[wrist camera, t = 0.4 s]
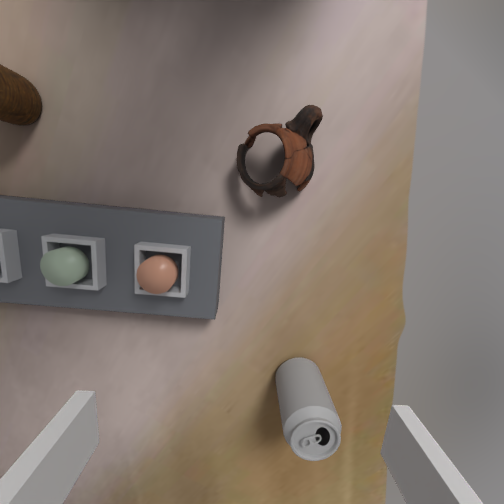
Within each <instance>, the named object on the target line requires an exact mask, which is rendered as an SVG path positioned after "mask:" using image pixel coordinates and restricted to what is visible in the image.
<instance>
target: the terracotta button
mask: <svg viewBox="0 0 504 504" xmlns="http://www.w3.org/2000/svg"><path fill="white" fill-rule="evenodd" d="M178 274H179V270H178V267H177V264H176V263H175V262H174V260H173V259H171V258H170V257H168V256H166V255H154V256H152V257H150V258H148V259H147V260H145V261H144V262H142V263H141V264H140V266H139V267H138V269H137V274H136V276H137V281H138V283H139V285H140V286H141V287H142V288H143V289H144V290H145V291H147V292H149V293H152V294H161V293H164V292H166V291H168V290H169V289H170V288H171V287H172V285H173V284H174V283H175V282H176V280H177V278H178Z"/></svg>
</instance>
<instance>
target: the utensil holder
mask: <svg viewBox="0 0 504 504" xmlns="http://www.w3.org/2000/svg"><path fill="white" fill-rule="evenodd" d="M41 109H42V103H41V98H40V95H39V93H38V91H37V89H36V88H35V87H34V86H33V84H32V83H31V82H29V81H28V80H27V79H26V78H24V77H23V76H21V75H19V74H17V73H16V72H14V71H12V70H10V69H8V68H6V67H4V66H2V65H0V120H1V121H5V122H8V123H12V124H16V125H28V124H31V123H33V122H34V121H36V120H37V118H38V117H39V115H40V113H41Z"/></svg>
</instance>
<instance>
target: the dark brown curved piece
mask: <svg viewBox="0 0 504 504" xmlns="http://www.w3.org/2000/svg"><path fill="white" fill-rule="evenodd" d="M322 117H323V115H322V112H321V109H320V108H319V107H317V106H314V105H307V106H305V107H304V108H303V109H302V110H301V111H300V112H299V113H298V114H297V116H296V117H295V118H294V119H293V120H291V121H288V122H287V123H286V128H282V124H261V125H258V126H255V127H254V128H252V129H251V130H250V131H249V132H248V134H249V137H248V138H247V140H246V141H245V144H241V145H239V147H238V151H237V168H238V171H239V173H240V176H241V179H242V180H243V181H244V182H245V184H246V185H248V186H249V187H250V188H251V189H252V190H253V191H254V192H255V193H256V194H257V195H259V196H260V197H262V196H263V195H262V194H263V192H264V191H266V192H267V193H268V194H270V195H273V196H277V197H282V196H284V195H286V194H287V192H286V190H285V188H286V187H285V184H286V179H288V180H289V181H291V182H292V183H293V184H294V185H295V186H298V185H300V186H299V187H298V188H297V191H301V190H302V189H304V188H305V187H306V185H307V184H308V183H309V181H310V180H311V178H312V175H313V172H314V154H313V146H312V144H311V138H312V135H313V133H314V132H315V130H316V129H317V127H318V126H319V124H320V122H321V120H322ZM264 132H271V133H273V134H276V135H277V136H278V137H279V138H280V139H281V141H282V143H283V146H284V150H285V160H284V165H283V167H282V169H281V171H280V174H279V175H278V176H277V177H276V178H275V179H274V180H272V181H271V182H268V183H265V184H259V183H256V182H254V181H253V180H252V179H251V178H250V177H249V175H248V173H247V171H246V167H245V154H246V150H247V148H250V147H252V145H253V143H254V141H255V139H256V136H257V135H259V134H261V133H264ZM306 146H307V147H306ZM303 181H304V182H303Z"/></svg>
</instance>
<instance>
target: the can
mask: <svg viewBox="0 0 504 504" xmlns="http://www.w3.org/2000/svg"><path fill="white" fill-rule="evenodd" d="M276 387H277V394H278V401H279V407H280V414H281V420H282V427H283V434H284V437H285V439H286V442H287V443H288V444H289V445H290V446H291V448H292V450H293V452H294V453H295V454H296V455H297V456H299V457H301V458H302V459H305V460H310V461H319V460H322V459H326V458H327V457H329V456H331V455H332V454H333V453H334V452H335V451H336V450H337V449H338V447H339V445H340V440H341V436H340V434H341V422H340V419H339V417H338V414H337V412H336V409H335V407H334V404H333V402H332V400H331V397H330V395H329V392H328V390H327V387H326V385H325V382H324V380H323V378H322V375H321V373H320V370H319V368H318V367H317V365H316V364H315V363H314V362H312V361H311V360H309V359H306V358H293V359H289V360H287V361H286V362H284V363H283V364H281V366H280V367H279V368H278V370H277V372H276Z"/></svg>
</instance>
